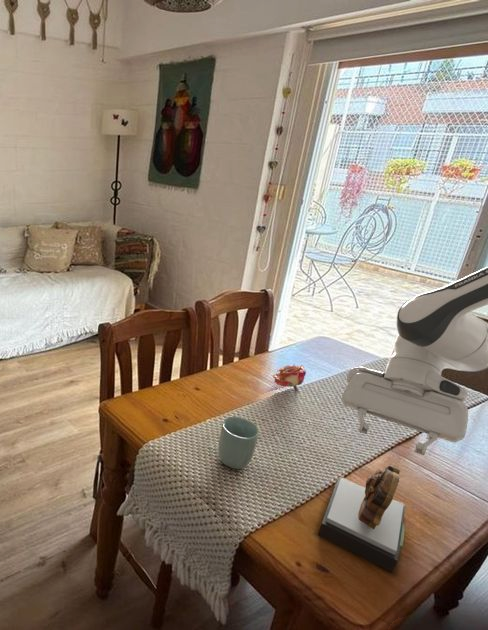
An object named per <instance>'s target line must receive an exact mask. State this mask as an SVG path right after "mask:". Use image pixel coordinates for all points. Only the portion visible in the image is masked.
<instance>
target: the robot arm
mask: <svg viewBox="0 0 488 630" xmlns="http://www.w3.org/2000/svg"><path fill="white" fill-rule="evenodd" d="M487 305H488V266H486V267H484V268H482V269H480V270H478V271H476V272H473V273H471V274H469V275H466V276H464V277H462V278H460V279H458V280H455V281H454V282H451V283H449V284H447V285H445V286H442V287H440V288H437V289H434V290H430V291H427V292H423V293H420V294H418V295H415V296H414V297H411V298H409V299H408V300H406V301H405V302H404V303H403V304H402V305H401V306H400V307H399V309H398V311H397V313H396V319H395V320H396V329H397V336H396V339H395V341H394V346H393V347H394V349H393V350H394V352H393V353H392V355H391V356H390V358H389V359H388V362H387V365H386V368H385V370H384V372H382V371H380V370H379V371H378V370H374V369H370V368H367V367H364V366H359V367H352V368H351V369H350V370H349V371H348V373H347V377H346V380H347V385H346V386H345V389H344V390H343V393H342V396H341V403H342V405H343V406H344V407H347V408H350V409H353V410H355V411H357V414H356V416H357V420H358V422H359V428H358V429H357V430H358V431H357V432H358V433H361V434H364V435H367V434H368V430H369V428H370V424H368V423H366V422H365V417H366V414H368V415H370V416H373V417H377V418H379V419H381V420H382V419H383V420H385V421H388V422H391V423H394V424H398V425H400V426H403V427H406V428H409V429H412V430H414V431H417V432H421V433H423V434H426V441H425V442H424V443H422V442H417V443H416V444H415V449H414V451H413V452H414V453H416V454H417V455H421V456H425V454H426V451H427V448H428V447H430V446H431V445H433V444H434V443H436V441H437V440H438V439H441V440H444V441H446V442H450V443H453V444H455V443H458V442H461V441H463V440H464V438H465V436H466V434H467V428H468V425H469V424H468V423H469V410H468V406H467V405H466V404H465V403H464V402H465V401H466V399H467V397H468V390H467V389H465V387H463V386H460V385H459V384H457V383H455V382H453V381H452V380H449V379H448V378H446V377H444V376H443V375H442V374H443V373H442V372H443V370H446V369H450V370H453V371H458V372H469V373H470V372H471V373H475V372H482V371H485V370H488V322H487V321H485V320H484V319H482V318H480V317H478V316H476V315H475V314H473V313H472V312H473V311H476V310H477V309H480V308H482V307H485V306H487Z"/></svg>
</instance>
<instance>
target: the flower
mask: <svg viewBox="0 0 488 630" xmlns="http://www.w3.org/2000/svg"><path fill="white" fill-rule="evenodd" d="M276 371H277V372H279V373H275V374H273V375H272V378H273V379H274V382H273V383H275V384H276V386H281V387H290V388H292V387H293V390H294V391H295V392H298V391H299V389H298V387H297V386H301V385H303V383H304V379H305V377H306V375H307V371H305V366H304V365H300V366H298V365H296V363H294V364H293V365H286V366H283V367H281V368H279V369H276Z"/></svg>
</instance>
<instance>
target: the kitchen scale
mask: <svg viewBox="0 0 488 630" xmlns="http://www.w3.org/2000/svg"><path fill="white" fill-rule="evenodd" d="M365 487H366V486H362V485H360V484H358V483H356V482H354V481H350V480H349V479H346V478H344V477H337V480H336V482H335V485H334V488H333V491H332V494H331V496H330V499H329V501H328V505H327V508H326V511H325V513H324V515H323V519H322V521H321V525H320V528H319V530H318V533H317V535H318V536H319V537H322V538H323V539H325V540H327V541H329V542H330V543H333V544H335V545H337V546H339V547H341V548H343V549H344V550H347V551H349V552H351V553H353V554H355V555H357V556H358V557H361V558H363V559H365V560H367V561H369V562H371V563H373V564H374V565H376V566H378V567H380V568H382V569H384V570H386V571H388V572H390V573H393V572H394V571H395V568H396V565H397V564H398V561H399V557H400V556H399V555H400V553H401V550H402V548H403V546H404V545H403V544H404V539H405V538H404V537H405V531H406V526H405V524H404V521H405V513H406V505H405V504H404V503H403V502H400V501H398V500H396V499H394V498H393V499H392V501H391V503H390V505H389V507H388V508H387V509H386V510H385V512H384V514H383V516H382V519H381V522H380V524H379V525H376V527H375V529H372V528H371V527H369V526H368V525H367V524H365V523H363V522H361V521H360V520H359V519H358V513H359V510H360V507H361V503H362V501H363V499H364V497H365Z"/></svg>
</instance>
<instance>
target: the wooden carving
mask: <svg viewBox="0 0 488 630" xmlns="http://www.w3.org/2000/svg"><path fill="white" fill-rule="evenodd" d="M400 473H401V470H400V469H398V468H396V467H394V466H391V465H387V466H386V467H385V469H384V470H381V469H377V470H375V472H374V474H372V475H370V476H368V478H367V479H366V481H365V486H364V487H365V497H364V499H363V501H362V503H361V507H360V510H359V513H358V519H359V520H360V521H361V522H363V523H365V524H367V525H368V526H369V527H371V528H372V529H375V527H376V525H379V524H380V522H381V519H382V516H383V514H384V512H385V510H386V509H387V508H388V507H389V505H390V503H391V501H392V499H393V500H394V496H395V493H396V491H397V488H398V485H399V483H400V478H401V477H400Z"/></svg>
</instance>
